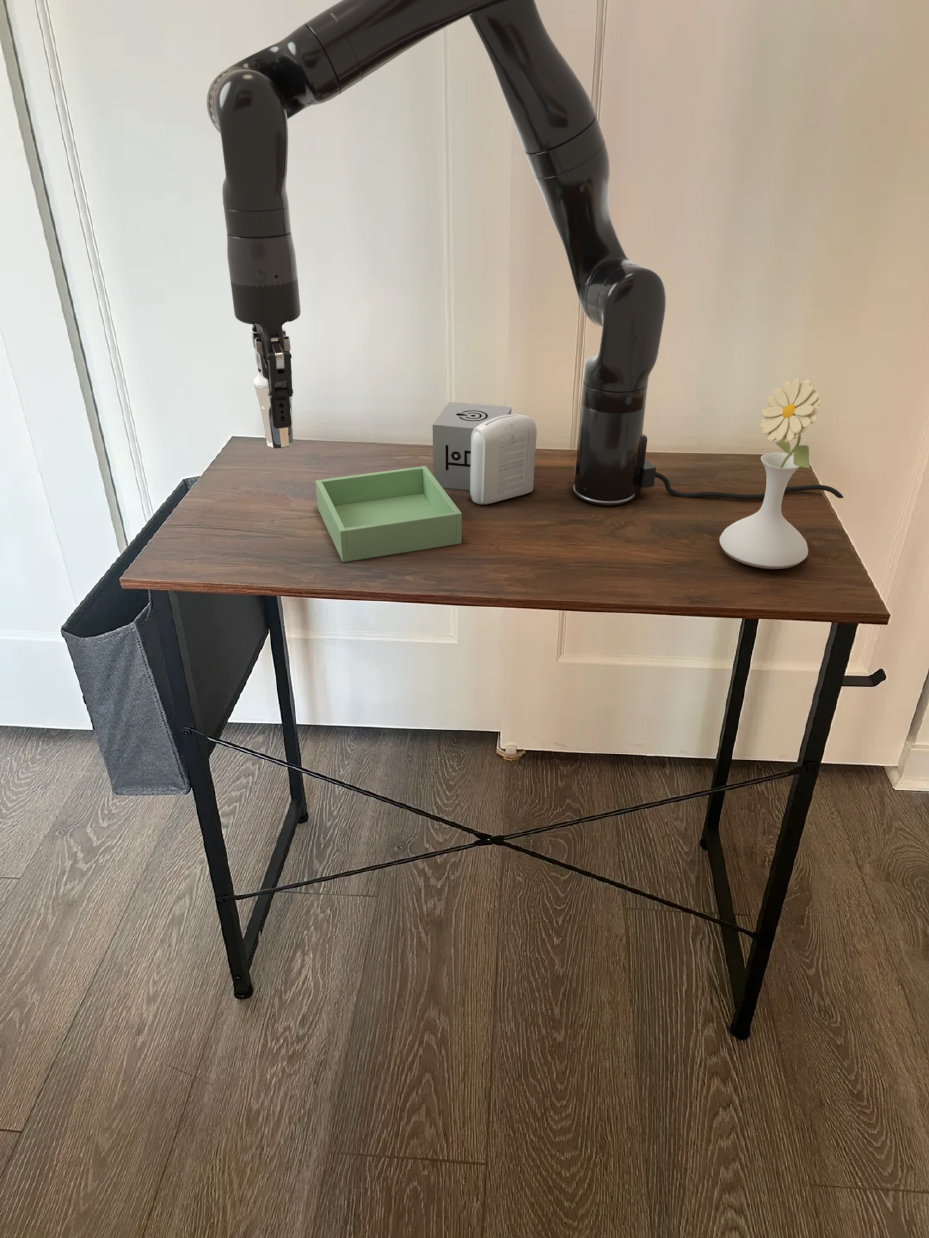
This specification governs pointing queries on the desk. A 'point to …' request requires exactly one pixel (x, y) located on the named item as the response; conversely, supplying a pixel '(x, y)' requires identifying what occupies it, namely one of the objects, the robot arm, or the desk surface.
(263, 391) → the milkshake
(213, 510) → the desk surface
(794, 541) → the flower in vase
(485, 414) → the icon cube
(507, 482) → the photo printer
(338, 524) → the tote
